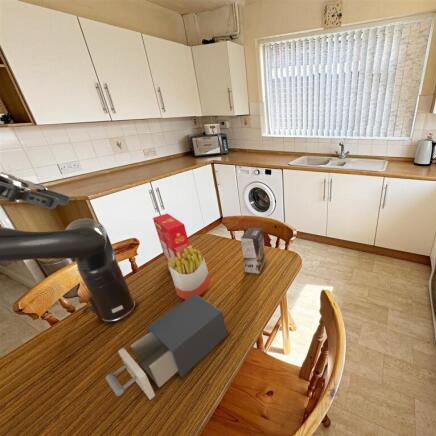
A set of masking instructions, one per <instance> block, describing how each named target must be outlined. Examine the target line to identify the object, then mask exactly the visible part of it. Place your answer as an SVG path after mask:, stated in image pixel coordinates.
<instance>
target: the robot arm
mask: <svg viewBox="0 0 436 436" xmlns="http://www.w3.org/2000/svg"><path fill="white" fill-rule="evenodd" d="M33 189H35V190H33ZM70 198H71V197H70V196H69V195H67V194H63V193H60V192H57V191H54V190H50V189H48V188H47V187H46V186H45V185H43V184H38V183H36V182H35V183H34V182H32V181H31V180H28V179H24V178H20V177H16V176H14V175H12V174H10V173H7V172H4V171H1V172H0V199H1V200H4V201H6V202H10V203H11V202H12V203H14V202H17V203H27V204H30V205H33V206H38V207H41V208H44V209H48V210H54V209H56V208H57V206H58V205H59V206H62V207H64V206H67V205H68V203H69V201H70ZM60 259H61V260H64V259H65V260H66V259H67V260H69V259H70V260H71V259H75V262H76V267H77V272H78V274H79V275H80V277H81V279H82V281H83V283H84V285H85V287H86V289H87V291H88V293H89V296H88V302H89V303H90V305H88V306H86V307H85V308H83V311H82V313H83V314H86V312H87V310H89V309H90V310H91V313H92V314H96V317H97V318H98V320H99V321H103V322H104V323H108V324H112V323H116V322H117V323H118V322H119V321H122V320H124V319H126V318H127V317H129V316H130V315H131V314H132V313H133V312H134V311H135V310H136V302H135V301H134V298H133V296H132V294H131V291H130V288H129V286H128V284H127V282H126V281H127V280H126V279H125V277H124V274H123V272H122V269H121V267H120V264H119V262H118V258H117V256H116V253H115V249H114V247H113V244H112V242H111V240H110V237H109V235H108V232H107V230H106V228H105V226H104V225H103V224H102V223H101V222H100V221H98V220H96V219H92V218H79V219H76V220H74V221H72V222H71V223H69V224H68V225H67V226H66V228H65V229H63V230H62V229H60V230H48V231H44V230H43V231H31V230H23V229H17V228H10V227H5V226H0V263H8V262H9V263H10V262H19V261H30V260H60Z"/></svg>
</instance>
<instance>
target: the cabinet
mask: <svg viewBox="0 0 436 436" xmlns="http://www.w3.org/2000/svg"><path fill="white" fill-rule="evenodd" d="M146 329H147V333H149V332H151V333H152V334H153V335H154V336H155V337H156V338H157V339H158V340H159V341H161V342H162V343H163V344H164V345H165V346H166V347H167V348H168V349H169V350H170V351H171V352H172V355H173V358H174V361H175V363H176V366H177V369H178V371H177V372H176V374H178V375H179V376H180V377H181V378H183V377H184V376H185V375H187V373H188V372H189V371H190V370H191V369H193V367H195V366H196V365H197V364H198V363H199V362H200V361H201V360H202V359H203V358H204V357H205V356H207V354H209V353H210V352H211V351H212V350H213V349H214V348H215V347H216V346H218V345H219V343H221V342H222V341H224V339H225V338H226V337H227V336H228V333H227V329H226V323H225V318H224V314H223V310H221V309H219V308H218V307H216V306H215V305H213V304H212V303H211V302H209V301H207V300H206V299H205V298H203V297H201V295H200V296H198V295H197V294H194V295H192V296H191V297H189V298H188V299H186V300H185V299H184V301H182V302H181V303H179V304H177V305H176V306H175V307H173V308H171V309H170V310H169V311H167V312H165V313H164V314H162V315H161V316H159V317H158V318H157V319H155V320H154V321H152V322H151V323H149V324H147V325H146Z"/></svg>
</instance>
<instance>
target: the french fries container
mask: <svg viewBox="0 0 436 436" xmlns="http://www.w3.org/2000/svg"><path fill="white" fill-rule="evenodd" d="M187 249H188V251H189V253H188V251H187ZM187 249H186V248H185V249H184V252H185V253H183V254H182V257H183V258H181V256H180V253H179V252H178V253H176V254H177V257H178V258H177V257H174V260H175V263H174V261H173V259H172V258H169V259H168V262H169V264H170V266H169V269H170V272H171V273H170V272H169V273H170V275H171V278H172V282H173V285H174V288H175V292H176V295H177V296H178V297H180V298H181V299H183V300H184V301H185V300H186V299H188V298H189V297H191V296H192V295H194V294H197V295H198V296H200V297H201V295H202V294H203V293H205V292H206V291H207V289H208V287H209V286H210V283H211V278H210V274H209V270H208V266H207V264H206V261H205V258H204V256H203V254H202V252H201V251H200V250H197V249H196V248H193V245H192V244H191V245H190V244H189V246H188V247H187ZM178 260H179V261H178ZM169 269H168V270H169Z"/></svg>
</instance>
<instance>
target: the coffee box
mask: <svg viewBox="0 0 436 436" xmlns="http://www.w3.org/2000/svg"><path fill="white" fill-rule="evenodd" d="M240 242H241V243H240V244H241V251H242V257H243V265H244V273H249V274H258V275H259V274H260V273H261V271H262V269H263V267H264V265H265V263H266V262H267V260H266V248H265V237H264V229H263V228H261V227H248V228H247V229H246V231H245V232H244V233H243V234H242V235H241V237H240Z"/></svg>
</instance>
